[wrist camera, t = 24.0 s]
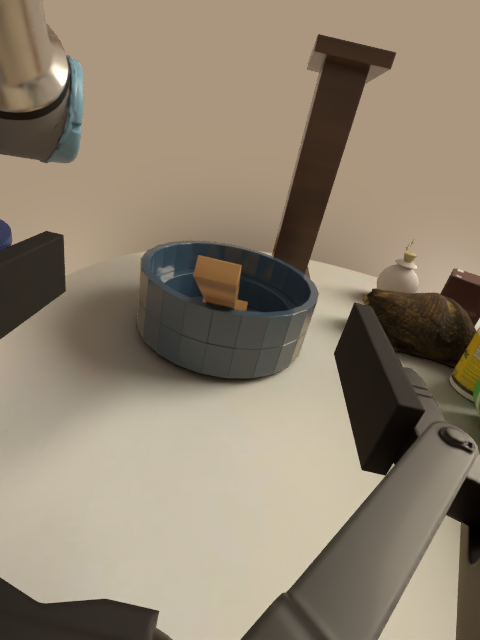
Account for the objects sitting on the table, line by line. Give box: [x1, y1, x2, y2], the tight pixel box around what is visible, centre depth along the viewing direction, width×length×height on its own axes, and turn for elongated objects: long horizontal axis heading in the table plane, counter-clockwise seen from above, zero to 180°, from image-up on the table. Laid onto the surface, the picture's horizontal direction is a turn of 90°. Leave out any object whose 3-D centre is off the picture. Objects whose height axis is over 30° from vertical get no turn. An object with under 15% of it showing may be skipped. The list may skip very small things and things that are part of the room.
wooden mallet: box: [193, 255, 248, 311], centre depth 29 cm, size 21×4×2 cm
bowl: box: [137, 241, 318, 378], centre depth 37 cm, size 18×18×7 cm
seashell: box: [363, 289, 476, 367], centre depth 44 cm, size 16×9×7 cm, turn 80°
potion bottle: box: [377, 241, 418, 293], centre depth 56 cm, size 6×7×10 cm
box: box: [441, 269, 480, 326], centre depth 53 cm, size 6×6×7 cm
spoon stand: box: [272, 34, 396, 279], centre depth 47 cm, size 12×8×29 cm, turn 174°
